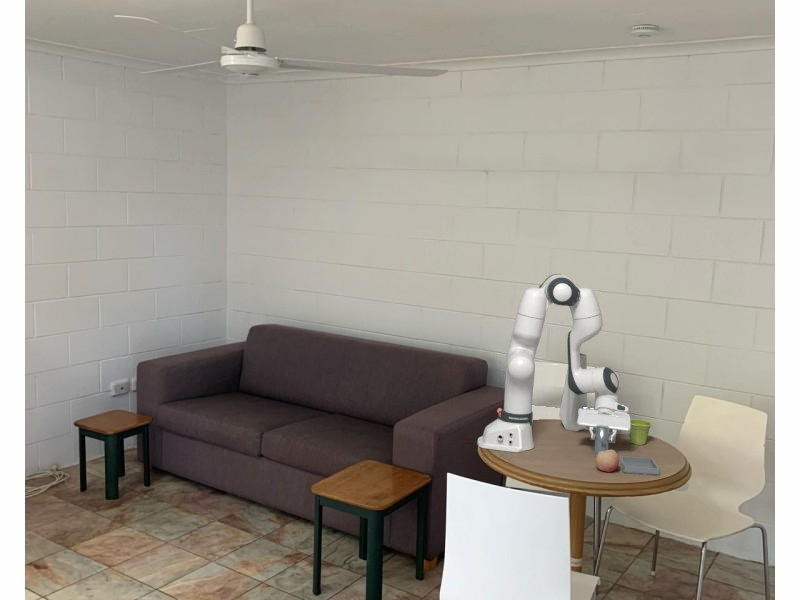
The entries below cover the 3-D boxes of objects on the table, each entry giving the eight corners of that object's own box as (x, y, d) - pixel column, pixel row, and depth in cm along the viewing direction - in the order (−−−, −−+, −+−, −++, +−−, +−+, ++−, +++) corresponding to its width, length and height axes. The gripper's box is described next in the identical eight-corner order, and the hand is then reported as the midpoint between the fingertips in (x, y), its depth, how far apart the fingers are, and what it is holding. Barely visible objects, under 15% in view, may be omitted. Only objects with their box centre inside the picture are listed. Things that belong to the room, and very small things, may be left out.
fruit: (604, 466, 280) (606, 445, 279) (622, 472, 274) (624, 450, 273) (590, 469, 276) (591, 448, 275) (608, 476, 269) (609, 454, 268)
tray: (624, 473, 273) (624, 466, 272) (618, 462, 285) (619, 455, 284) (659, 475, 271) (659, 468, 271) (652, 464, 283) (652, 458, 283)
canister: (595, 458, 288) (596, 428, 287) (593, 454, 293) (595, 424, 292) (608, 459, 288) (610, 429, 286) (606, 455, 292) (608, 425, 291)
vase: (577, 434, 319) (582, 358, 315) (555, 428, 328) (559, 353, 324) (594, 429, 327) (598, 355, 324) (571, 423, 336) (575, 350, 332)
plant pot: (651, 447, 304) (653, 426, 303) (627, 445, 306) (628, 424, 305) (648, 440, 314) (650, 420, 312) (625, 438, 315) (626, 418, 314)
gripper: (578, 401, 298) (573, 432, 290) (632, 408, 291) (629, 439, 283) (579, 410, 303) (574, 440, 295) (632, 416, 296) (629, 447, 288)
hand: (601, 440), depth 289 cm, fingers closed on canister, 5 cm apart
